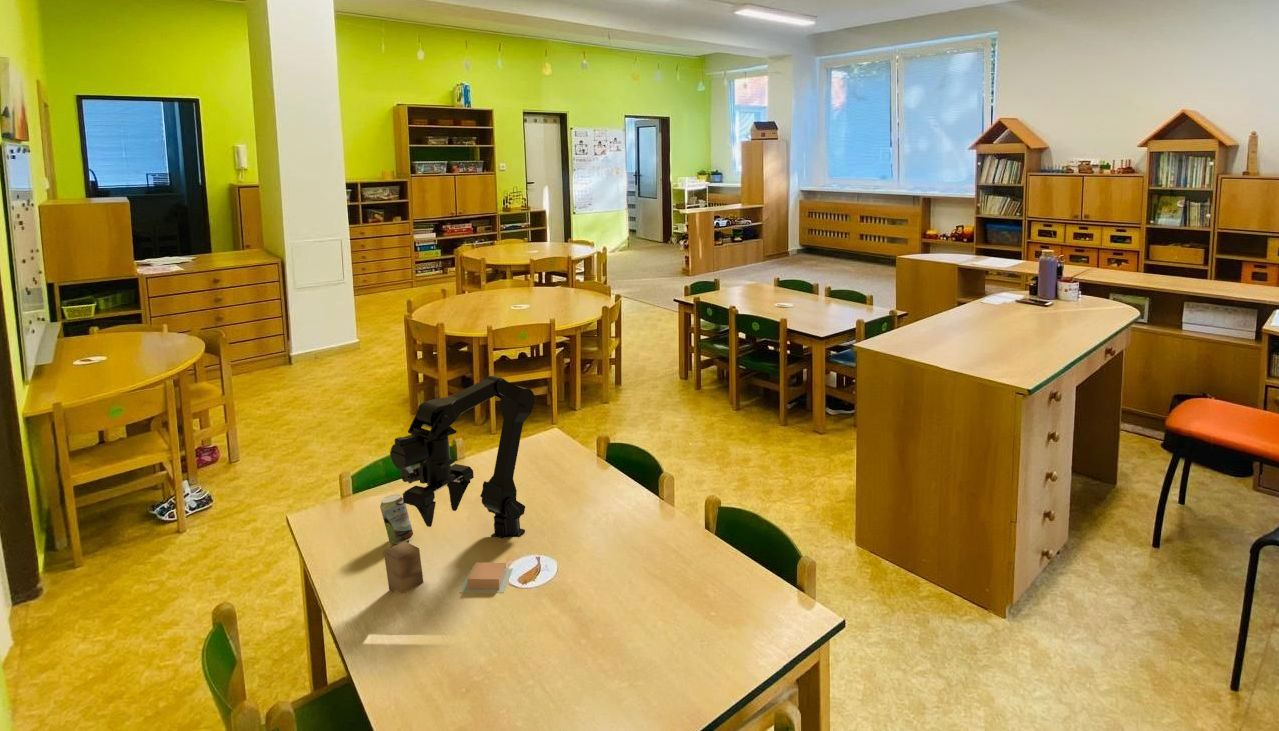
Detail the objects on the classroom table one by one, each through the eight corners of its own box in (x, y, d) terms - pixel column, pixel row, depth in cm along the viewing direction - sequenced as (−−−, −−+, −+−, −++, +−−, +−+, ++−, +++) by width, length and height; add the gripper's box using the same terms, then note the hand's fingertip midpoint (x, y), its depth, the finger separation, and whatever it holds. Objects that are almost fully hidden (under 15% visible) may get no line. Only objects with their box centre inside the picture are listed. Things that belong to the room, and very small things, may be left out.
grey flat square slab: (471, 575, 180) (470, 568, 180) (513, 576, 180) (513, 568, 179) (460, 600, 171) (459, 592, 170) (504, 600, 170) (503, 592, 170)
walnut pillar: (409, 579, 178) (404, 541, 176) (424, 587, 175) (419, 548, 172) (389, 590, 174) (383, 551, 172) (403, 598, 171) (398, 558, 168)
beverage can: (406, 547, 193) (401, 504, 189) (380, 545, 194) (374, 502, 191) (418, 535, 199) (413, 493, 195) (392, 533, 200) (386, 491, 197)
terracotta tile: (476, 572, 178) (475, 562, 177) (506, 572, 178) (505, 562, 177) (468, 588, 171) (467, 578, 171) (499, 589, 171) (498, 579, 170)
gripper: (435, 438, 187) (440, 497, 191) (380, 464, 171) (387, 528, 175) (472, 444, 183) (476, 505, 186) (420, 472, 166) (426, 537, 170)
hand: (441, 518), depth 180 cm, fingers open, 9 cm apart
